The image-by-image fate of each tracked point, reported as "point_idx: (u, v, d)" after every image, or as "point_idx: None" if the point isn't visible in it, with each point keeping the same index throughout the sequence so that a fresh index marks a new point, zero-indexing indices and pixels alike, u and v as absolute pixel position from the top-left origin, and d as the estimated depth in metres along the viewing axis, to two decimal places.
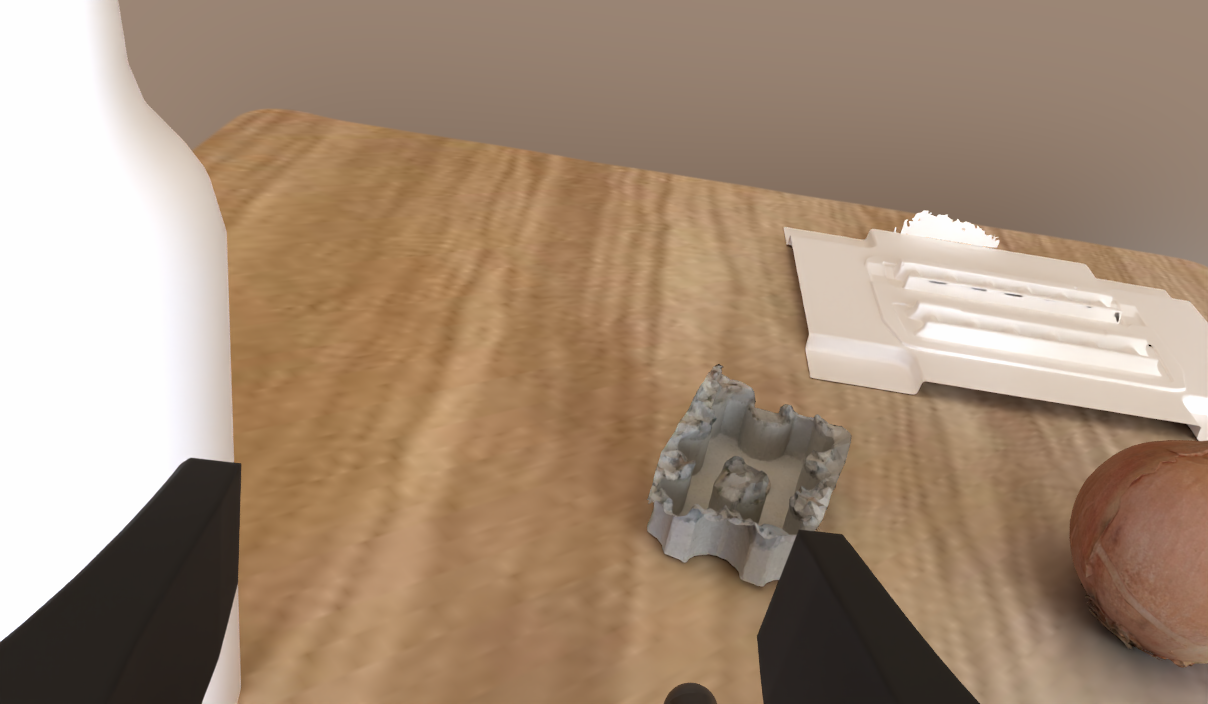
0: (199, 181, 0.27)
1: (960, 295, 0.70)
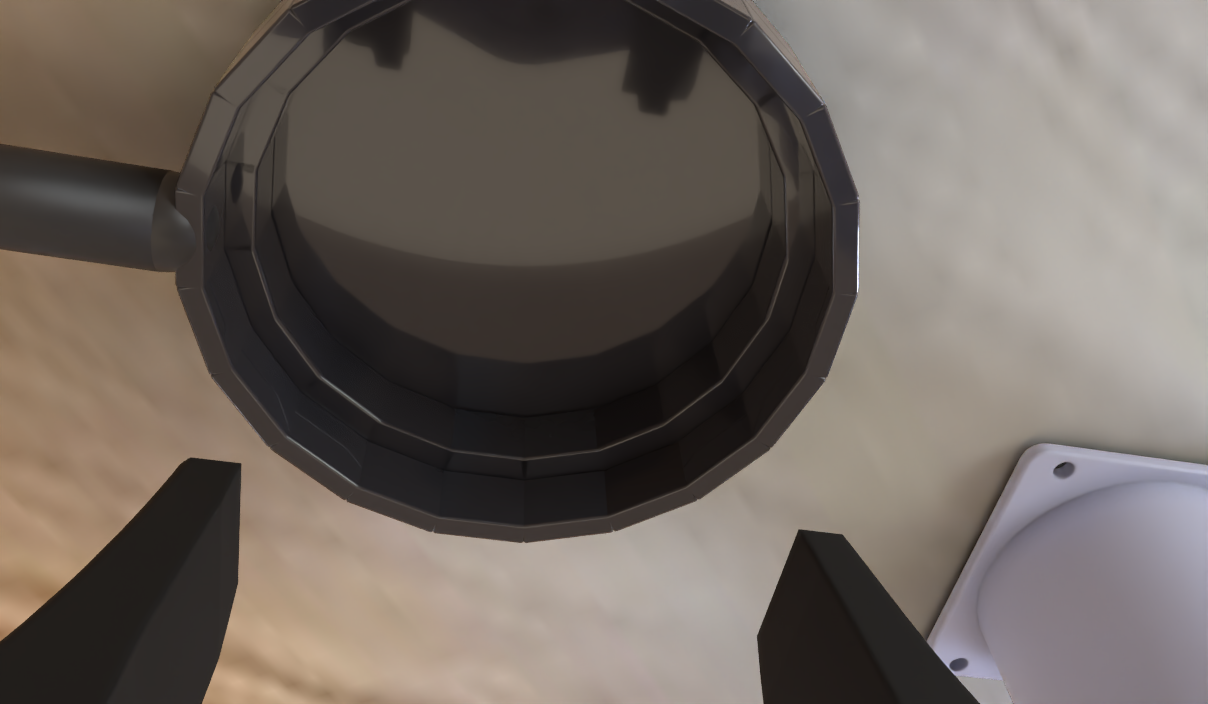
0: None
1: None
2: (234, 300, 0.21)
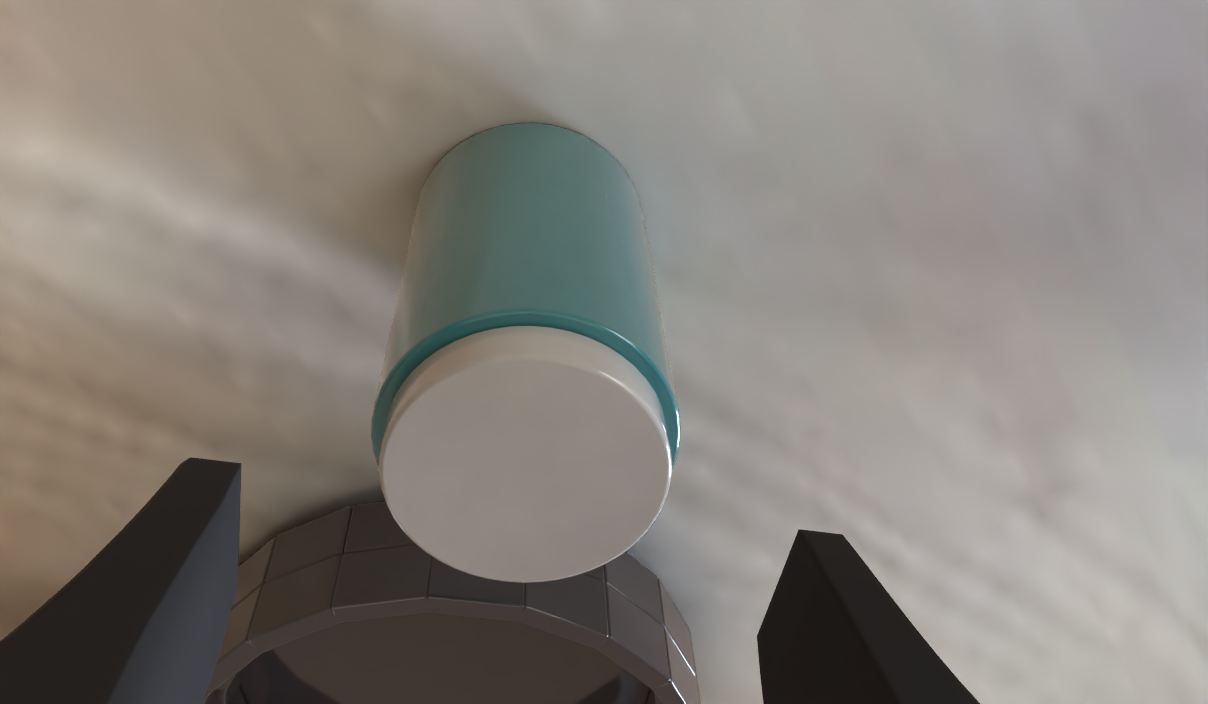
0: None
1: None
2: None
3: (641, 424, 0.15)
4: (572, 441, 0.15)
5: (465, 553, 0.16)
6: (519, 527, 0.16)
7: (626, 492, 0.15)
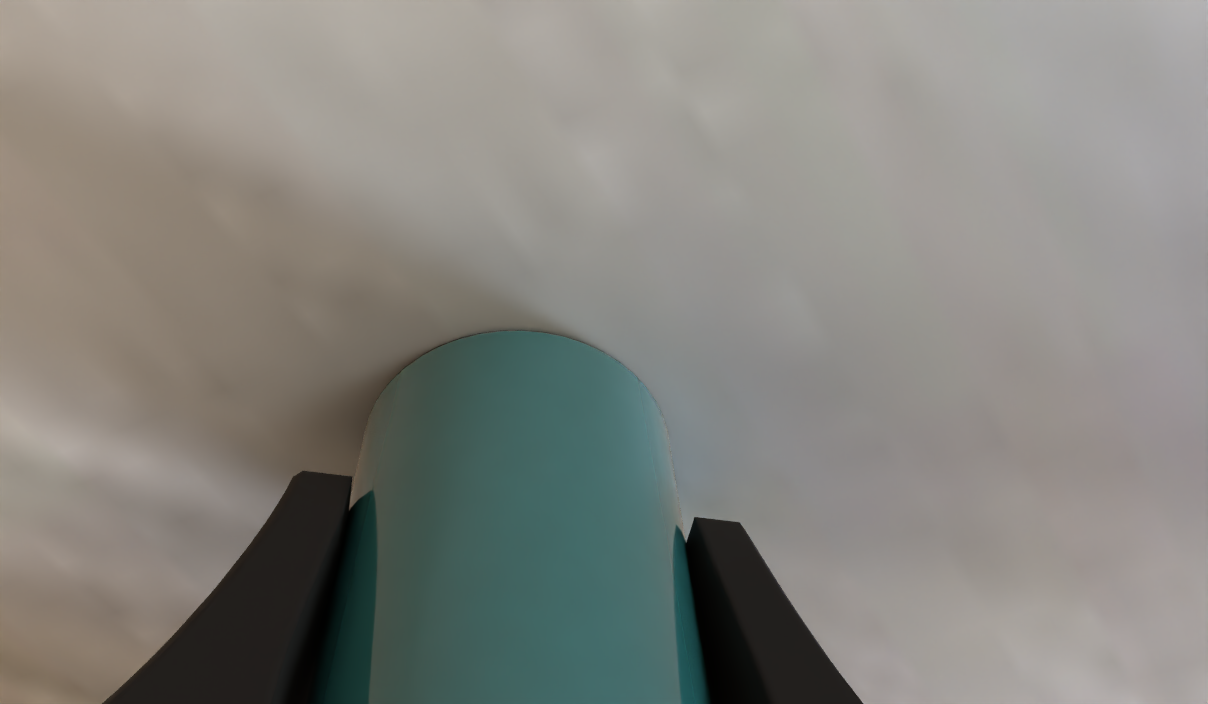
0: None
1: None
2: None
3: None
4: None
5: None
6: None
7: None
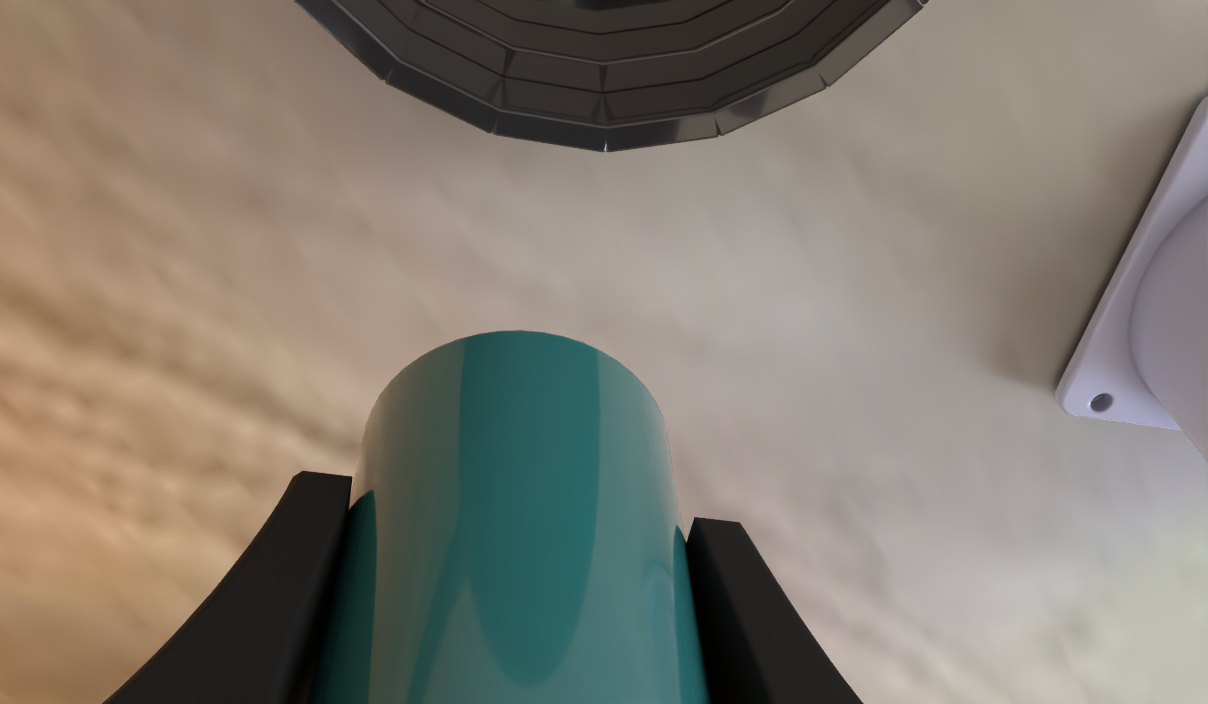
0: None
1: None
2: None
3: None
4: None
5: None
6: None
7: None
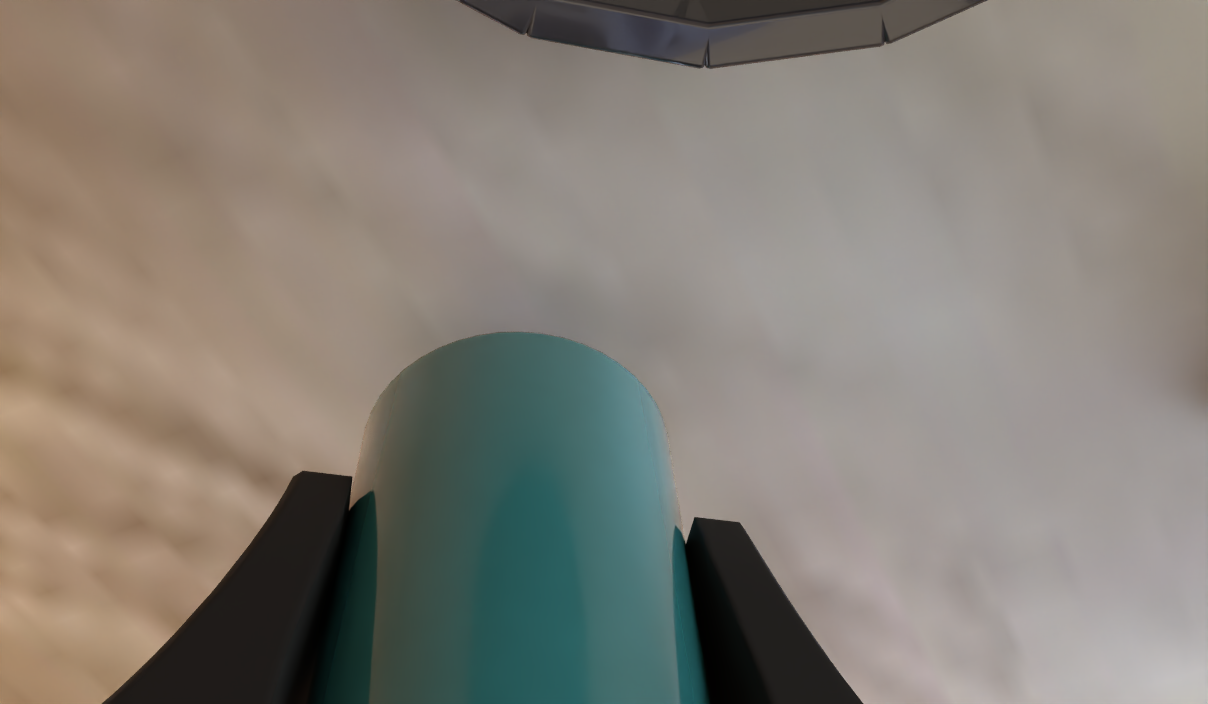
0: None
1: None
2: None
3: None
4: None
5: None
6: None
7: None
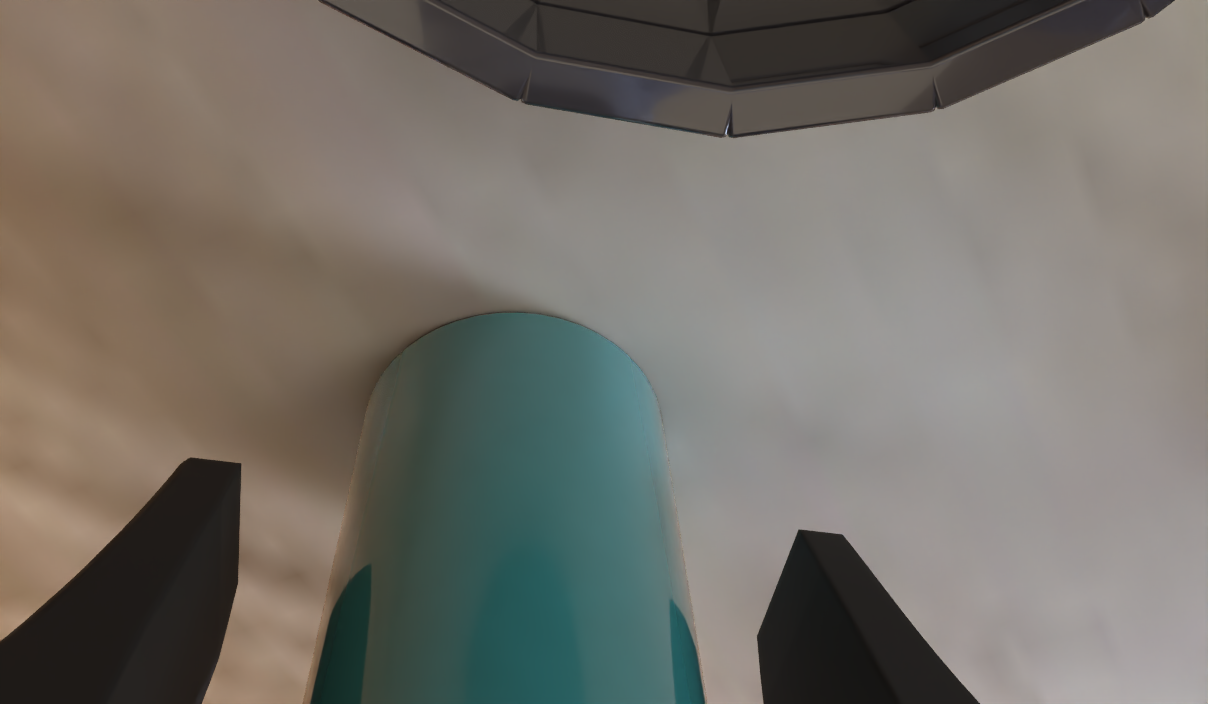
0: None
1: None
2: None
3: None
4: None
5: None
6: None
7: None
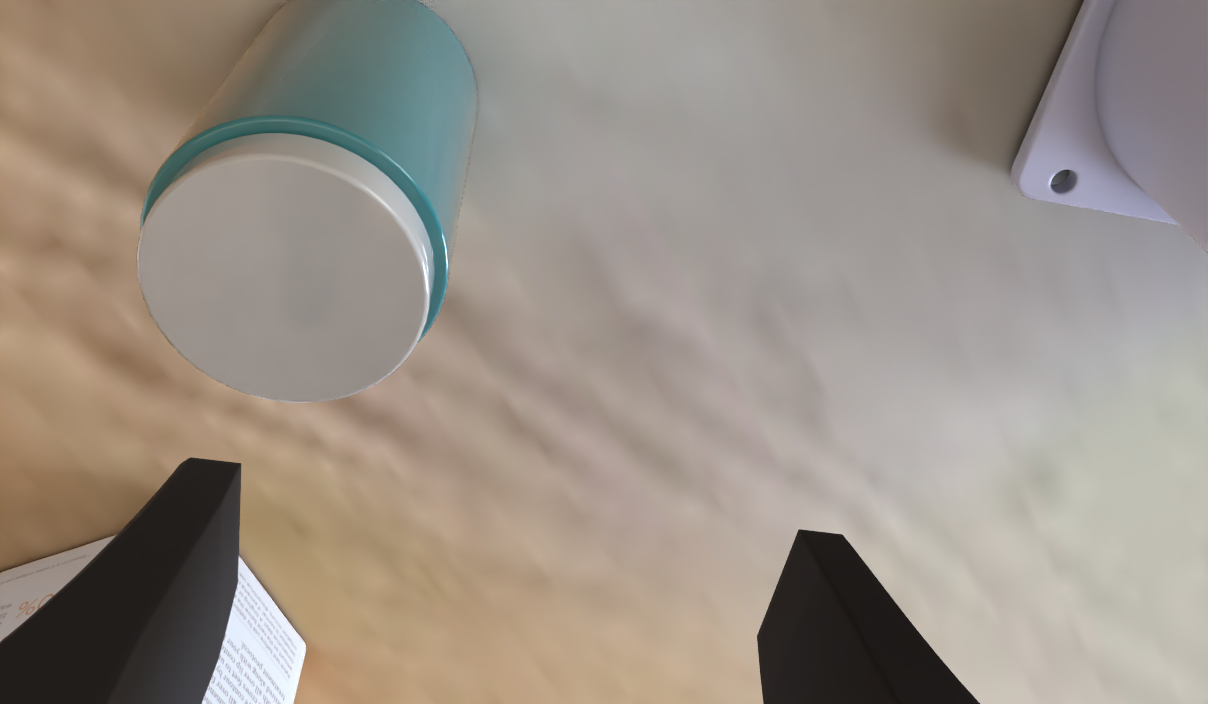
0: None
1: None
2: None
3: (390, 231, 0.15)
4: (324, 249, 0.15)
5: (235, 369, 0.16)
6: (284, 342, 0.16)
7: (385, 305, 0.15)
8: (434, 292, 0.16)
